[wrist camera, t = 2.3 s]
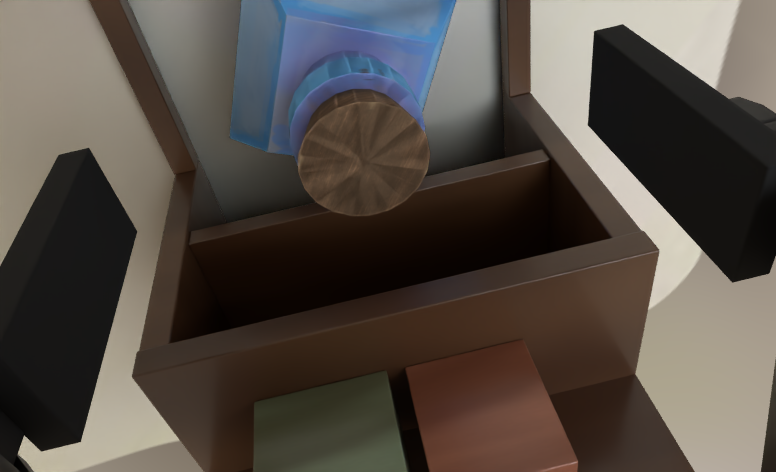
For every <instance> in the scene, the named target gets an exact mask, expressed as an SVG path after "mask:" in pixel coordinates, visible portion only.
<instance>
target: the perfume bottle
mask: <svg viewBox="0 0 776 472" xmlns="http://www.w3.org/2000/svg"><path fill="white" fill-rule="evenodd" d="M455 3H456V0H241V10H240V21H239V32H238V44H237V55H236V66H235V79H234V91H233V103H232V115H231V128H230V138H231V139H234V140H236V141H239V142H242V143H244V144H247V145H250V146H252V147H255V148H258V149H261V150H263V151H266V152H269V153H277V154H286V155H293V156H294V158H295V161H296V163H297V165H298V174H299V176H300V179H301V181H302V184H303V186H304V189H305V190H306V191H307V192H308V194H309V195H310V196H311V197H312V198H313V199H314V200H315V201H316V202H317V203H318V204H320V205H322V206H324V207H325V208H327V209H329V210H331V211H332V212H336V213H340V214H345V215H349V216H370V215H374V214H378V213H381V212H384V211H388V210H390V209H392V208H394V207H395V206H397V205H399V204H401V203H402V202H404V201H406V200H407V199H408V198H409V197H410V196H411V195H412V194H413V193H414V192H415V191H416V190H417V189H418V187H419V186H420V184H421V182H422V180H423V178H424V177H425V175H426V173H427V171H428V164H429V158H430V150H429V145H428V141H427V136H426V134H425V133H424V131H425V125H424V120H423V116H422V112H423V109H424V105H425V102H426V99H427V95H428V92H429V89H430V85H431V82H432V79H433V76H434V72H435V69H436V66H437V62H438V59H439V56H440V52H441V49H442V46H443V43H444V39H445V36H446V33H447V29H448V26H449V23H450V19H451V16H452V13H453V9H454V6H455Z"/></svg>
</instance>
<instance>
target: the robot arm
mask: <svg viewBox="0 0 776 472" xmlns="http://www.w3.org/2000/svg"><path fill="white" fill-rule="evenodd" d="M588 126H589V127H590V128H591V129H592V130H593V131H594V132H595V133H596V134H597V136H598V137H599V138H600V139H601V140H602V141H603V142H604V143H605V144H606V145H607V146H608V148H609V149H610V150H611V151H612V152H613V153H614V154H615V155H616V156H617V157H618V158H619V160H620V161H621V162H622V163H623V164H624V165H625V166H626V167H627V168H628V169H629V170H630V172H631V173H632V174H633V175H634V176H635V177H636V178H637V179H638V180H639V181H640V182H641V184H642V185H643V186H644V187H645V188H646V189H647V190H648V191H649V192H650V193H651V194H652V196H653V197H654V198H655V199H656V200H657V201H658V202H659V203H660V204H661V205H662V206H663V208H664V209H665V210H666V211H667V212H668V213H669V214H670V215H671V216H672V217H673V218H674V219H675V221H676V222H677V223H678V224H679V225H680V226H681V227H682V228H683V229H684V230H685V231H686V233H687V234H688V235H689V236H690V237H691V238H692V239H693V240H694V241H695V242H696V243H697V245H698V246H699V247H700V248H701V249H702V250H703V251H704V252H705V253H706V254H707V255H708V256H709V258H710V259H711V260H712V261H713V262H714V263H715V264H716V265H717V266H718V267H719V268H720V270H721V271H722V272H723V273H724V274H725V275H726V276H727V277H728V278H729V279H730V281H732V282H737V281H741V280H745V279H749V278H753V277H757V276H761V275H766V274H769V273H770V270H771V267H772V265H773V262H774V259H775V256H776V113H774V112H773V111H771V110H770V109H768V108H767V107H765V106H764V105H761V104H758V103H755V102H753V101H749V100H747V99H744V98H741V97H736V98H732V99H728V98H726V97H725V96H724V95H722V94H721V93H719V92H718V91H717V90H715V89H714V88H712V87H711V86H709V85H708V84H707V83H705V82H704V81H702V80H701V79H700V78H698V77H697V76H695V75H694V74H692V73H691V72H690V71H688V70H687V69H685V68H684V67H683V66H681V65H680V64H678V63H677V62H675V61H674V60H673V59H671V58H670V57H668V56H667V55H666V54H664V53H663V52H661V51H660V50H658V49H657V48H656V47H654V46H653V45H651V44H650V43H649V42H647V41H646V40H644V39H643V38H641V37H640V36H639V35H637V34H636V33H634V32H633V31H632V30H630V29H629V28H627V27H626V26H624V25H618V26H614V27H610V28H606V29H601V30H597V31H594V42H593V57H592V72H591V87H590V102H589V117H588ZM136 234H137V230H136V228H135V227H134V225H133V223H132V221H131V220H130V218H129V216H128V215H127V213H126V211H125V209H124V208H123V206H122V204H121V202H120V201H119V199H118V197H117V196H116V194H115V192H114V190H113V189H112V187H111V185H110V183H109V182H108V180H107V178H106V177H105V175H104V173H103V171H102V170H101V168H100V166H99V164H98V163H97V161H96V159H95V158H94V156H93V154H92V152H91V151H90V149H89V148H86V149H82V150H78V151H73V152H69V153H65V154H60V155H58V157H57V159H56V161H55V163H54V165H53V167H52V169H51V170H50V172H49V174H48V176H47V178H46V180H45V182H44V184H43V186H42V188H41V190H40V191H39V193H38V195H37V197H36V199H35V201H34V203H33V205H32V207H31V209H30V210H29V212H28V214H27V216H26V218H25V220H24V222H23V224H22V226H21V228H20V230H19V231H18V233H17V235H16V237H15V239H14V241H13V243H12V245H11V247H10V249H9V250H8V252H7V254H6V256H5V258H4V260H3V262H2V264H1V266H0V472H34V471H33V470H32V469H31V467H30V466H29V465H28V463H27V462H26V461H25V460H24V459H22V458H21V457H20V456H19V455H18V451H19V448H20V445H21V443H22V440H23V437H24V435H25V436H26V437H27V438H28V439H29V440H30V441H31V442H32V443H33V444H34V445H35V446H36V447H37V448H38V449H39V450H40V451H45V450H49V449H53V448H58V447H62V446H66V445H70V444H74V443H78V442H81V439H82V435H83V431H84V428H85V424H86V420H87V416H88V413H89V409H90V405H91V402H92V398H93V394H94V390H95V387H96V383H97V379H98V375H99V372H100V368H101V364H102V361H103V357H104V353H105V349H106V346H107V342H108V338H109V334H110V331H111V327H112V323H113V320H114V316H115V312H116V308H117V305H118V301H119V297H120V293H121V290H122V286H123V282H124V279H125V275H126V271H127V267H128V264H129V260H130V256H131V252H132V249H133V245H134V241H135V238H136ZM761 472H776V361H775V369H774V376H773V384H772V392H771V400H770V408H769V415H768V422H767V430H766V438H765V445H764V453H763V460H762V468H761Z"/></svg>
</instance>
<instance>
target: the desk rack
mask: <svg viewBox="0 0 776 472" xmlns="http://www.w3.org/2000/svg"><path fill="white" fill-rule="evenodd" d="M89 1H90V3H91V5H92V7H93V9H94V11H95V13H96V15H97V17H98V20H99V22H100V24H101V26H102V28H103V30H104V32H105V34H106V36H107V38H108V40H109V42H110V44H111V46H112V48H113V50H114V52H115V54H116V56H117V58H118V60H119V62H120V64H121V66H122V68H123V71H124V73H125V75H126V77H127V79H128V81H129V83H130V85H131V87H132V89H133V91H134V93H135V95H136V97H137V99H138V101H139V103H140V105H141V107H142V109H143V111H144V113H145V115H146V117H147V119H148V122H149V124H150V126H151V128H152V130H153V132H154V134H155V136H156V138H157V140H158V142H159V144H160V146H161V148H162V150H163V152H164V154H165V156H166V158H167V160H168V162H169V164H170V166H171V168H172V171H173V173H174V174H175V178H174V183H173V188H172V193H171V198H170V203H169V208H168V213H167V217H166V222H165V227H164V232H163V237H162V242H161V247H160V252H159V257H158V261H157V266H156V271H155V276H154V281H153V286H152V291H151V296H150V300H149V305H148V310H147V315H146V320H145V325H144V330H143V335H142V340H141V344H140V349H139V351H138V352H137V354H136V359H135V364H134V369H133V373H132V378H133V379H134V380H135V382H136V383H137V384H138V386H139V387H140V388H141V390H142V391H143V392H144V394H145V395H146V396H147V398H148V399H149V400H150V401H151V403H152V404H153V405H154V407H155V408H156V409H157V411H158V412H159V413H160V415H161V416H162V417H163V419H164V420H165V421H166V423H167V424H168V425H169V427H170V428H171V429H172V430H173V432H174V433H175V434H176V436H177V437H178V438H179V440H180V441H181V442H182V444H183V445H184V446H185V448H186V449H187V450H188V452H189V453H190V454H191V455H192V457H193V458H194V459H195V461H196V462H197V463H198V465H199V466H200V467H201V469H202V470H203V471H204V472H694V470H693V468H692V467H691V465H690V463H689V462H688V460H687V459H686V457H685V455H684V453H683V452H682V450H681V449H680V447H679V445H678V444H677V442H676V440H675V439H674V437H673V435H672V434H671V432H670V430H669V429H668V427H667V426H666V424H665V422H664V421H663V419H662V417H661V416H660V414H659V412H658V411H657V409H656V408H655V406H654V404H653V402H652V401H651V399H650V398H649V396H648V394H647V393H646V391H645V389H644V388H643V386H642V385H641V383H640V381H639V380H638V378H637V376H636V375H635V373H636V368H637V363H638V357H639V352H640V347H641V342H642V337H643V332H644V327H645V322H646V316H647V312H648V307H649V301H650V296H651V291H652V286H653V281H654V276H655V271H656V266H657V261H658V256H659V249H658V248H657V247H656V245H655V244H654V243H653V242H652V240H651V239H650V238H649V237H648V235H647V234H646V233H645V232H644V231H641V230H640V228H639V227H638V226H637V225H636V223H635V222H634V221H633V220H632V218H631V217H630V216H629V215H628V213H627V212H626V211H625V210H624V208H623V207H622V206H621V205H620V203H619V202H618V201H617V200H616V199H615V197H614V196H613V195H612V194H611V192H610V191H609V190H608V189H607V187H606V186H605V185H604V184H603V182H602V181H601V180H600V179H599V177H598V176H597V175H596V174H595V172H594V171H593V170H592V169H591V167H590V166H589V165H588V164H587V162H586V161H585V160H584V159H583V158H582V156H581V155H580V154H579V153H578V151H577V150H576V149H575V148H574V146H573V145H572V144H571V143H570V141H569V140H568V139H567V138H566V136H565V135H564V134H563V133H562V131H561V130H560V129H559V128H558V126H557V125H556V124H555V123H554V122H553V120H552V119H551V118H550V117H549V115H548V114H547V113H546V112H545V110H544V109H543V108H542V107H541V105H540V104H539V103H538V102H537V100H536V99H535V98H534V97H533V95H532V94H531V93H530V91H531V66H530V0H499V2H500V30H501V58H502V86H503V113H504V141H505V158H503V159H499V160H494V161H490V162H486V163H482V164H477V165H473V166H469V167H465V168H460V169H456V170H452V171H448V172H443V173H439V174H435V175H430V176H426V177H424V178H423V180H422V182H421V184H420V186H419V187H418V189H417V190H416V191H415V192H414V193H413V194H412V195H411V196H410V197H409V198H408V199H407V200H406V201H404V202H402V203H401V204H399V205H397V206H395V207H394V208H392V209H390V210H388V211H384V212H381V213H378V214H374V215H370V216H349V215H345V214H340V213H336V212H332V211H331V210H329V209H327V208H325V207H324V206H322V205H320V204H318V203H317V202H315V203H311V204H307V205H302V206H298V207H294V208H290V209H285V210H281V211H277V212H273V213H268V214H264V215H260V216H255V217H251V218H247V219H243V220H238V221H234V222H230V223H227V222H226V220H225V217H224V215H223V213H222V211H221V208H220V206H219V204H218V202H217V199H216V197H215V195H214V193H213V191H212V188H211V186H210V184H209V182H208V179H207V177H206V175H205V173H204V170H203V168H202V166H201V164H200V161H199V160H198V157H197V154H196V152H195V150H194V148H193V145H192V143H191V141H190V139H189V136H188V134H187V132H186V130H185V128H184V125H183V123H182V121H181V119H180V116H179V114H178V112H177V110H176V107H175V105H174V103H173V101H172V98H171V96H170V94H169V92H168V90H167V87H166V85H165V83H164V81H163V78H162V76H161V74H160V72H159V69H158V67H157V65H156V63H155V60H154V58H153V56H152V54H151V52H150V49H149V47H148V45H147V43H146V40H145V38H144V36H143V34H142V31H141V29H140V27H139V25H138V22H137V20H136V18H135V16H134V14H133V11H132V9H131V7H130V5H129V2H128V0H89Z"/></svg>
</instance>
